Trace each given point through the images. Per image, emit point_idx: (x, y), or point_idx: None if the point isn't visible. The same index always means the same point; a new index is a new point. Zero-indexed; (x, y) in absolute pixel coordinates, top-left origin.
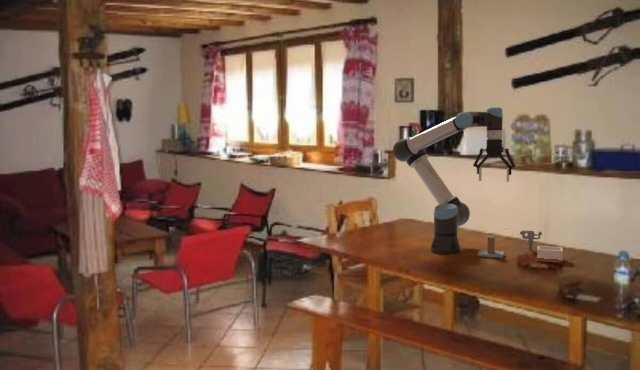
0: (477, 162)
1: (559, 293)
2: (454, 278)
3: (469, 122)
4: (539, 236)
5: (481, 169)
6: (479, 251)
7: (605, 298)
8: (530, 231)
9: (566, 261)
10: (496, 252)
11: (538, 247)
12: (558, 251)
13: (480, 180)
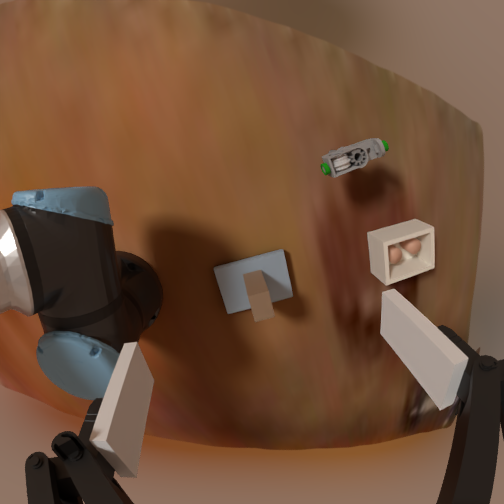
0: (57, 501)
1: (404, 411)
2: (255, 443)
3: None
4: (377, 155)
5: (112, 425)
6: (219, 286)
7: None
8: (354, 149)
9: None
10: (267, 272)
11: (386, 262)
12: (426, 269)
13: (152, 379)
